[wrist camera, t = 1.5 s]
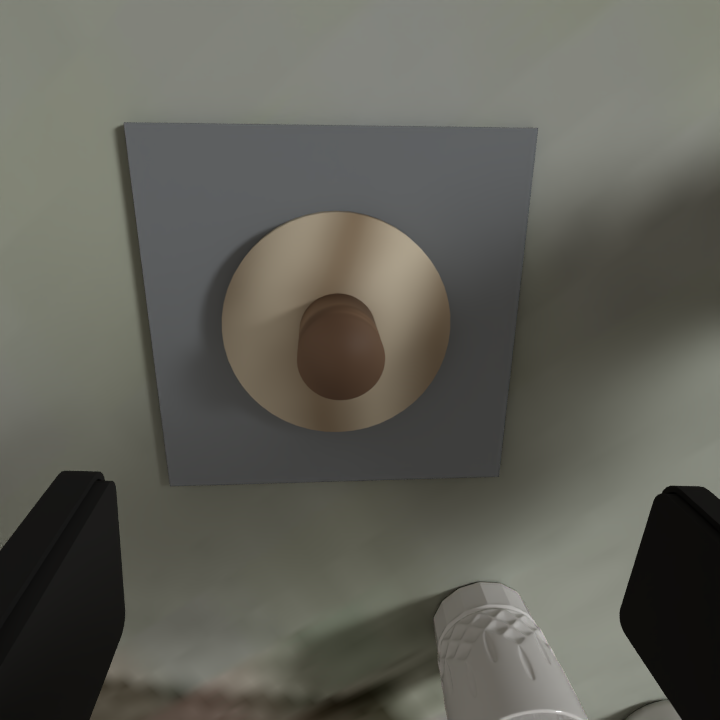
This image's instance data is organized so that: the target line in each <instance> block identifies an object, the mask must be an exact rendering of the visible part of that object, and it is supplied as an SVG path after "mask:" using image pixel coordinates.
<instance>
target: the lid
mask: <svg viewBox="0 0 720 720" xmlns="http://www.w3.org/2000/svg"><path fill="white" fill-rule="evenodd" d="M449 335H450V309H449V302H448V297H447V294H446V290H445V287H444V284H443V282H442V280H441V278H440V275H439V273H438V271H437V270H436V268H435V266H434V265H433V263H432V262H431V260H430V259H429V258H428V256H427V255H426V254H425V253H424V252H423V250H422V249H421V248H420V247H419V246H418V245H417V244H416V243H415V242H413V241H412V240H411V239H410V238H409V237H408V236H407V235H406V234H404V233H403V232H401V231H400V230H398V229H397V228H396V227H394V226H392V225H390V224H388V223H386V222H384V221H382V220H380V219H377V218H375V217H372V216H369V215H366V214H361V213H356V212H350V211H323V212H317V213H312V214H307V215H303V216H301V217H298V218H295V219H292V220H290V221H288V222H286V223H284V224H282V225H280V226H278V227H276V228H275V229H274V230H272V231H271V232H269V233H268V234H266V235H265V236H264V237H263V238H262V239H261V240H260V241H258V242H257V243H256V244H255V245H254V246H253V247H252V249H251V250H250V251H249V252H248V254H247V255H246V256H245V257H244V259H243V260H242V262H241V263H240V265H239V267H238V268H237V270H236V272H235V273H234V275H233V277H232V280H231V282H230V284H229V287H228V289H227V293H226V296H225V300H224V304H223V312H222V336H223V342H224V348H225V351H226V354H227V358H228V361H229V363H230V365H231V367H232V370H233V372H234V374H235V375H236V377H237V379H238V380H239V382H240V383H241V385H242V386H243V387H244V389H245V390H246V391H247V392H248V394H249V395H250V396H251V397H252V398H253V399H254V400H255V401H256V402H257V403H258V404H260V405H261V406H262V407H263V408H265V409H266V410H267V411H269V412H270V413H272V414H273V415H275V416H277V417H279V418H280V419H282V420H284V421H286V422H289V423H291V424H294V425H296V426H299V427H303V428H307V429H311V430H317V431H324V432H345V431H354V430H359V429H364V428H368V427H371V426H374V425H377V424H380V423H382V422H384V421H386V420H388V419H390V418H392V417H394V416H395V415H397V414H399V413H400V412H402V411H404V410H405V409H406V408H407V407H409V406H410V405H411V404H412V403H414V402H415V401H416V400H417V399H418V398H419V397H420V396H421V395H422V394H423V392H424V391H425V390H426V389H427V387H428V386H429V385H430V383H431V382H432V381H433V379H434V377H435V376H436V374H437V372H438V370H439V369H440V366H441V364H442V361H443V359H444V357H445V353H446V350H447V346H448V342H449Z"/></svg>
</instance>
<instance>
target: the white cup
mask: <svg viewBox="0 0 720 720" xmlns="http://www.w3.org/2000/svg"><path fill="white" fill-rule="evenodd" d="M434 634H435V640H436V645H437V651H438V666H439V671H440V678H441V685H442V690H443V695H444V704H445V710H446V715H447V720H589V718H588V716H587V715H586V713H585V711H584V709H583V707H582V705H581V703H580V701H579V699H578V697H577V695H576V694H575V692H574V690H573V688H572V686H571V684H570V682H569V680H568V678H567V676H566V674H565V672H564V670H563V668H562V667H561V665H560V663H559V662H558V660H557V659H556V656H555V654H554V652H553V651H552V649H551V647H550V645H549V644H548V642H547V640H546V638H545V636H544V634H543V632H542V631H541V629H540V627H539V626H537V625H536V623H535V621H534V619H533V617H532V615H531V613H530V611H529V609H528V607H527V606H526V604H525V603H524V601H523V600H522V598H521V596H520V595H519V593H518V592H517V591H515V590H513V589H511V588H509V587H507V586H505V585H503V584H501V583H489V582H477V583H474V584H471V585H468V586H465V587H461V588H459V589H457V590H456V591H454V592H453V593H452V594H451V595H449V596H448V597H447V598H445V599H444V600H443V601H442V602H441V604H440V606H439V608H438V610H437V612H436V614H435V616H434Z"/></svg>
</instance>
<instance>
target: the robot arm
mask: <svg viewBox="0 0 720 720" xmlns="http://www.w3.org/2000/svg"><path fill="white" fill-rule="evenodd" d="M124 621H125V603H124V589H123V576H122V562H121V548H120V535H119V521H118V508H117V494H116V486H115V483H114V482H113V481H105V479H104V476H103V474H102V473H101V472H93V471H62V472H61V473H60V474H59V475H58V476H57V477H56V479H55V480H54V481H53V483H52V484H51V485H50V486H49V488H48V489H47V490H46V492H45V493H44V494H43V496H42V497H41V498H40V499H39V501H38V502H37V503H36V505H35V506H34V507H33V509H32V510H31V511H30V513H29V514H28V515H27V516H26V518H25V519H24V520H23V522H22V523H21V524H20V526H19V527H18V528H17V530H16V531H15V532H14V533H13V535H12V536H11V537H10V539H9V540H8V541H7V543H6V544H5V545H4V546H3V548H2V549H1V550H0V720H89V719H90V717H91V714H92V711H93V709H94V706H95V704H96V701H97V698H98V696H99V693H100V691H101V688H102V685H103V683H104V680H105V677H106V675H107V672H108V670H109V667H110V664H111V662H112V659H113V656H114V654H115V651H116V649H117V646H118V643H119V641H120V638H121V635H122V632H123V627H124ZM620 623H621V626H622V629H623V631H624V633H625V635H626V636H627V638H628V639H629V641H630V642H631V644H632V645H633V647H634V648H635V650H636V651H637V653H638V654H639V656H640V657H641V659H642V661H643V662H644V664H645V665H646V667H647V668H648V670H649V671H650V673H651V674H652V676H653V677H654V679H655V680H656V682H657V683H658V685H659V686H660V688H661V689H662V691H663V692H664V694H665V695H666V697H667V698H668V700H669V701H670V703H671V704H672V706H673V707H674V709H675V710H676V712H677V713H678V715H679V716H680V718H681V719H682V720H720V499H719V498H717V497H716V496H715V495H714V494H713V493H711V492H710V491H709V490H707V489H706V488H704V487H699V486H669V487H666V488H665V489H664V490H663V492H662V494H659V495H657V496H656V497H655V499H654V501H653V505H652V508H651V511H650V514H649V518H648V521H647V524H646V527H645V531H644V534H643V537H642V540H641V543H640V547H639V550H638V553H637V556H636V560H635V563H634V566H633V569H632V573H631V576H630V579H629V582H628V586H627V589H626V592H625V595H624V599H623V602H622V605H621V608H620Z"/></svg>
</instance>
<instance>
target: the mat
mask: <svg viewBox="0 0 720 720" xmlns="http://www.w3.org/2000/svg"><path fill="white" fill-rule="evenodd" d="M124 129H125V137H126V145H127V153H128V161H129V169H130V176H131V184H132V192H133V200H134V208H135V216H136V223H137V231H138V239H139V247H140V255H141V263H142V270H143V278H144V286H145V294H146V302H147V310H148V318H149V325H150V333H151V341H152V349H153V357H154V365H155V372H156V380H157V388H158V396H159V404H160V412H161V419H162V427H163V435H164V443H165V451H166V459H167V466H168V474H169V482H170V486H196V485H230V484H264V483H298V482H332V481H366V480H399V479H433V478H467V477H499V471H500V462H501V453H502V445H503V436H504V427H505V418H506V409H507V400H508V391H509V382H510V373H511V365H512V356H513V347H514V338H515V329H516V320H517V311H518V302H519V294H520V285H521V276H522V267H523V258H524V249H525V240H526V231H527V223H528V214H529V205H530V196H531V187H532V178H533V169H534V160H535V152H536V143H537V134H538V128H500V127H426V126H352V125H278V124H205V123H131V122H124ZM323 211H350V212H356V213H361V214H366V215H369V216H372V217H375V218H377V219H380V220H382V221H384V222H386V223H388V224H390V225H392V226H394V227H396V228H397V229H398V230H400V231H401V232H403V233H404V234H406V235H407V236H408V237H409V238H410V239H411V240H412V241H413V242H415V243H416V244H417V245H418V246H419V247H420V248H421V249H422V250H423V252H424V253H425V254H426V255H427V256H428V258H429V259H430V260H431V262H432V263H433V265H434V266H435V268H436V270H437V271H438V273H439V275H440V278H441V280H442V282H443V284H444V287H445V290H446V294H447V297H448V302H449V309H450V335H449V342H448V346H447V350H446V353H445V357H444V359H443V361H442V364H441V366H440V369H439V370H438V372H437V374H436V376H435V377H434V379H433V381H432V382H431V383H430V385H429V386H428V387H427V389H426V390H425V391H424V392H423V394H422V395H421V396H420V397H419V398H418V399H417V400H416V401H415V402H414V403H412V404H411V405H410V406H409V407H407V408H406V409H405V410H404V411H402V412H400V413H399V414H397V415H395V416H394V417H392V418H390V419H388V420H386V421H384V422H382V423H380V424H377V425H374V426H371V427H368V428H364V429H359V430H354V431H345V432H324V431H317V430H311V429H307V428H303V427H299V426H296V425H294V424H291V423H289V422H286V421H284V420H282V419H280V418H279V417H277V416H275V415H273V414H272V413H270V412H269V411H267V410H266V409H265V408H263V407H262V406H261V405H260V404H258V403H257V402H256V401H255V400H254V399H253V398H252V397H251V396H250V395H249V394H248V392H247V391H246V390H245V389H244V387H243V386H242V385H241V383H240V382H239V380H238V379H237V377H236V375H235V374H234V372H233V370H232V367H231V365H230V363H229V361H228V358H227V354H226V351H225V348H224V342H223V336H222V312H223V304H224V300H225V296H226V293H227V289H228V287H229V284H230V282H231V280H232V277H233V275H234V273H235V272H236V270H237V268H238V267H239V265H240V263H241V262H242V260H243V259H244V257H245V256H246V255H247V254H248V252H249V251H250V250H251V249H252V247H253V246H254V245H255V244H256V243H257V242H258V241H260V240H261V239H262V238H263V237H264V236H265V235H266V234H268V233H269V232H271V231H272V230H274V229H275V228H276V227H278V226H280V225H282V224H284V223H286V222H288V221H290V220H292V219H295V218H298V217H301V216H303V215H307V214H312V213H317V212H323Z"/></svg>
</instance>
